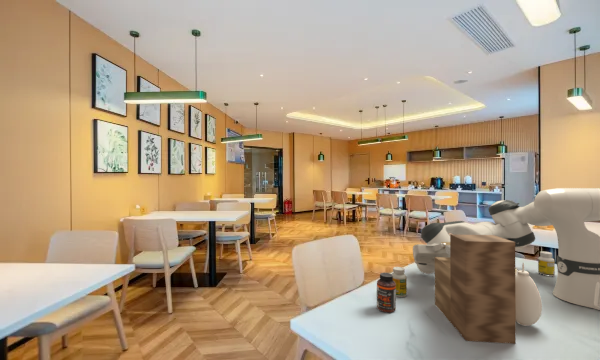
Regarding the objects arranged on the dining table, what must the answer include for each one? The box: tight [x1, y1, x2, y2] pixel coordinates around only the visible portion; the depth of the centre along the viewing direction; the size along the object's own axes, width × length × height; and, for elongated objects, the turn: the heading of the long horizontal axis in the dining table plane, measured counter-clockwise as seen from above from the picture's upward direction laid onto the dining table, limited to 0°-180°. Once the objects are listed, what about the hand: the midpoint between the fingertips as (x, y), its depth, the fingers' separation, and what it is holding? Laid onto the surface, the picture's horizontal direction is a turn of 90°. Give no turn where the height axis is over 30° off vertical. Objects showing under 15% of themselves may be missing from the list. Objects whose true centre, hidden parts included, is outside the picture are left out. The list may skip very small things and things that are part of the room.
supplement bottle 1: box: [376, 272, 397, 314], centre depth 88 cm, size 6×6×11 cm
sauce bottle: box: [515, 262, 543, 327], centre depth 79 cm, size 8×8×18 cm
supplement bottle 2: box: [391, 266, 408, 298], centre depth 100 cm, size 5×5×10 cm
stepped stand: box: [434, 233, 517, 345], centre depth 80 cm, size 12×21×26 cm, turn 174°
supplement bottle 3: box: [537, 251, 556, 277], centre depth 120 cm, size 5×5×10 cm
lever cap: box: [441, 242, 450, 255], centre depth 89 cm, size 7×16×2 cm, turn 174°
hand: (450, 245), depth 93 cm, fingers closed on lever cap, 3 cm apart
